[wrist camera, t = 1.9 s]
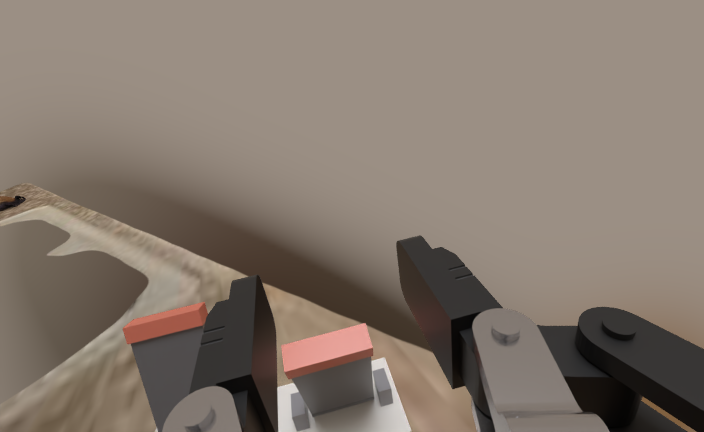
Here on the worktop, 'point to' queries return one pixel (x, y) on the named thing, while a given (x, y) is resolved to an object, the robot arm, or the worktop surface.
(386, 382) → the white paddle base
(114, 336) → the worktop surface
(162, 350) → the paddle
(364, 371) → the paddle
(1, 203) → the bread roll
